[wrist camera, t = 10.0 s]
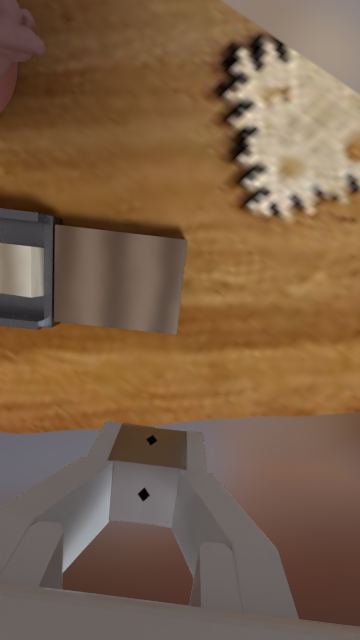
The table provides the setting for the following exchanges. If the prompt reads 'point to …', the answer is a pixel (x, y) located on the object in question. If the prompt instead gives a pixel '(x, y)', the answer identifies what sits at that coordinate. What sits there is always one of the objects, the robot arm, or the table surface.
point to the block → (21, 270)
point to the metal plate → (118, 279)
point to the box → (41, 234)
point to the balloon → (15, 45)
